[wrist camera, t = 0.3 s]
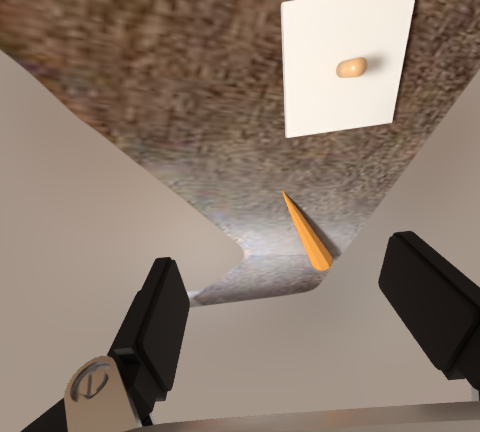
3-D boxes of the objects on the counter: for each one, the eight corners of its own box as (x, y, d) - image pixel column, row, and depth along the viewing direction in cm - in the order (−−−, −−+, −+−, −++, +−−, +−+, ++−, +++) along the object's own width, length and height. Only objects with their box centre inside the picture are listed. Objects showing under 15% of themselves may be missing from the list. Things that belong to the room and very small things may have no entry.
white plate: (280, 5, 29) (290, -12, 24) (412, -19, 28) (450, -41, 23) (285, 136, 37) (293, 144, 32) (387, 121, 36) (411, 127, 31)
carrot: (326, 255, 51) (340, 263, 46) (310, 267, 50) (323, 277, 46) (285, 181, 44) (297, 183, 39) (266, 194, 43) (277, 198, 39)
